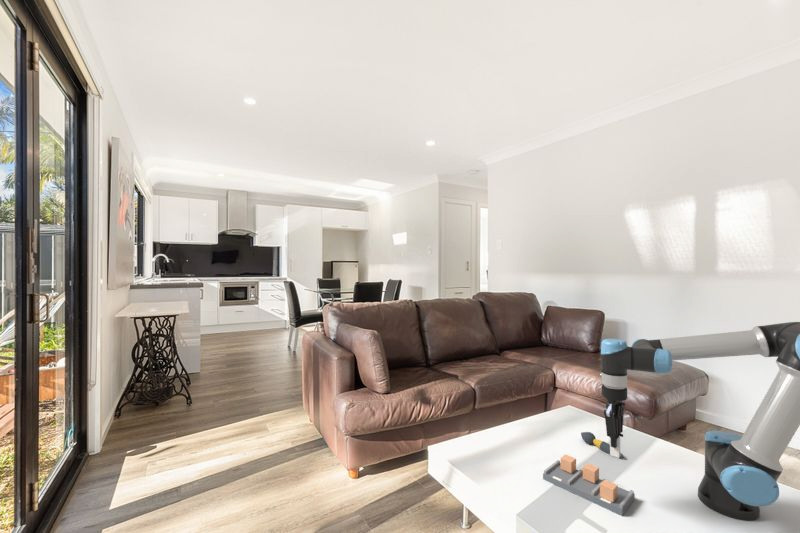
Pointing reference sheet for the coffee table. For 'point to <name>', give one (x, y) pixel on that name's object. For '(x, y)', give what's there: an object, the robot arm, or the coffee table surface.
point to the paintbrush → (597, 442)
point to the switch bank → (587, 488)
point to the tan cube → (568, 463)
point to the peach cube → (590, 473)
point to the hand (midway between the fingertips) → (615, 455)
